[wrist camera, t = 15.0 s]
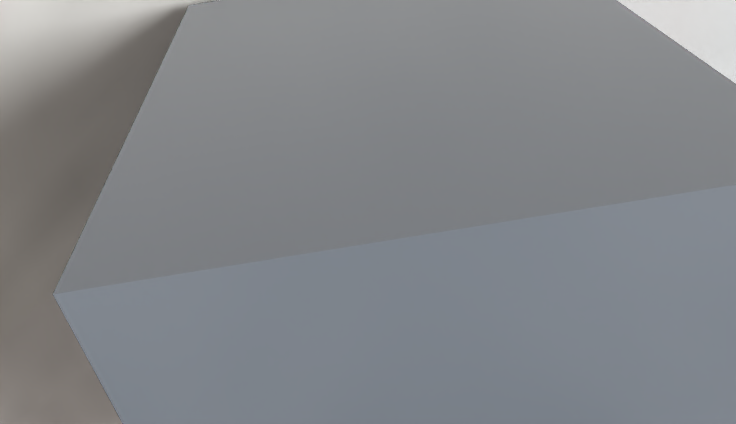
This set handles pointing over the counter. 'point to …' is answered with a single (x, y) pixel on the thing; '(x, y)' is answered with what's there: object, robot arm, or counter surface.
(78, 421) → the counter surface
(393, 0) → the matte grey box
